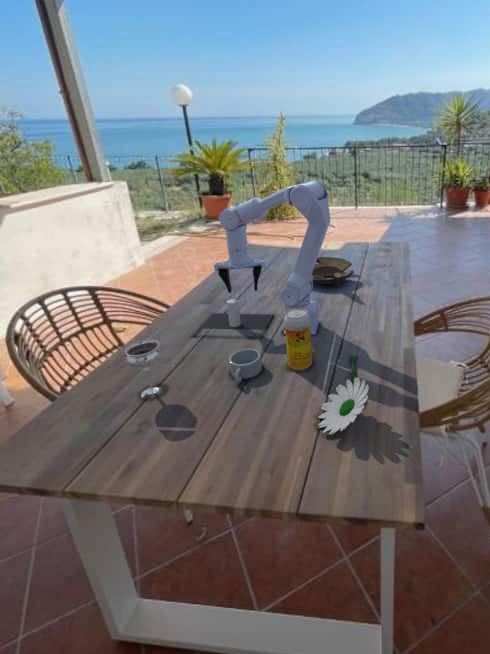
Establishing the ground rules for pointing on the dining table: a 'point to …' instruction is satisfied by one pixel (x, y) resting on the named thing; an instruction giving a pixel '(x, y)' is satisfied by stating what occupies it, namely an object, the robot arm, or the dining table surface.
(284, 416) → the dining table surface
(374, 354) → the dining table surface
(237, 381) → the steel mug
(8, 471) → the dining table surface
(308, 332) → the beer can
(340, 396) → the flower
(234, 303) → the white peg
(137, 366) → the wineglass
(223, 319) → the rubber mat
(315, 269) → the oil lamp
